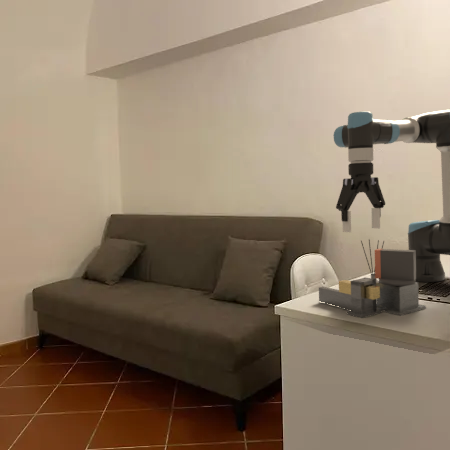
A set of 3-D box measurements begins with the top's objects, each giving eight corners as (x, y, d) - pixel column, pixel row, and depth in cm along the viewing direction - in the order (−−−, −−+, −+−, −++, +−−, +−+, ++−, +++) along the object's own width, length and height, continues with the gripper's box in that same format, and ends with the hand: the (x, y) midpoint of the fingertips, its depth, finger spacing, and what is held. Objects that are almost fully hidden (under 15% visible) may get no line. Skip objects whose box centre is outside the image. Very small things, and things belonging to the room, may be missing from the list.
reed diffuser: (359, 295, 178) (357, 239, 176) (366, 291, 183) (365, 237, 182) (387, 298, 172) (386, 240, 170) (394, 294, 177) (393, 238, 176)
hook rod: (345, 290, 163) (345, 279, 163) (379, 297, 152) (379, 286, 151) (339, 291, 162) (338, 281, 161) (373, 299, 150) (372, 288, 150)
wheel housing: (394, 301, 168) (393, 277, 167) (425, 308, 158) (425, 282, 157) (369, 307, 161) (369, 282, 160) (400, 315, 151) (400, 288, 150)
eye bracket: (330, 299, 174) (329, 270, 173) (381, 312, 155) (380, 279, 154) (311, 304, 169) (310, 273, 168) (361, 318, 151) (360, 283, 150)
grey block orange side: (419, 280, 160) (418, 248, 159) (410, 287, 151) (410, 253, 150) (381, 277, 167) (381, 246, 166) (371, 284, 158) (370, 251, 157)
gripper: (377, 162, 166) (378, 226, 168) (323, 163, 152) (324, 232, 154) (396, 161, 160) (396, 227, 162) (341, 162, 146) (343, 234, 148)
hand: (361, 230), depth 158 cm, fingers open, 13 cm apart
